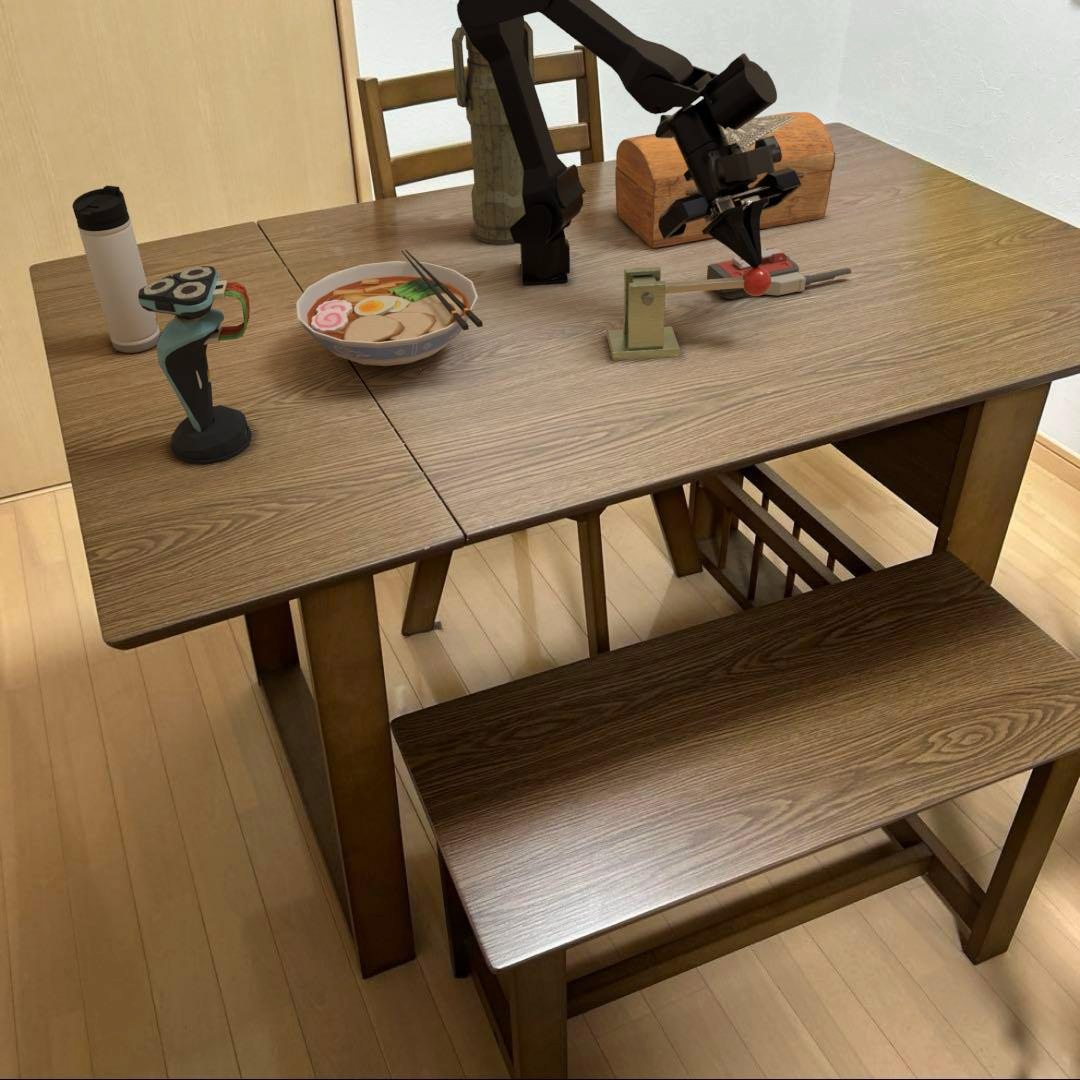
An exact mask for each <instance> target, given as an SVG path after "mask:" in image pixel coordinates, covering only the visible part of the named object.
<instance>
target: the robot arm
mask: <svg viewBox="0 0 1080 1080" xmlns="http://www.w3.org/2000/svg"><path fill="white" fill-rule="evenodd" d="M456 12H457V13H456V14H457V17H458V20H459V22H460V25H462V26H463V28H464V30H465V32H466V35H467V37H468V39H469V41H470V43H471V44H472V45H473V46H474V47H475V48H476V50H477V51H478V52H479V53H480V54H481V55H482V56H483V57H484V58H485V59H486V61H487V62H488V64H489V67H490V70H491V73H492V76H493V79H494V82H495V85H496V88H497V91H498V94H499V97H500V100H501V103H502V106H503V109H504V112H505V115H506V118H507V121H508V124H509V127H510V130H511V133H512V136H513V139H514V142H515V145H516V148H517V151H518V154H519V157H520V160H521V163H522V166H523V185H522V198H523V204H524V209H525V214H524V215H523V216H522V217H521V218H520V219H519V220H518V221H517V222H516V223H515V224H514V225H513V226H512V227H510V232H511V235H512V238H513V241H514V242H515V243H514V244H519V249H520V250H519V253H520V264H519V272H520V279H521V285H522V286H535V285H552V284H553V285H554V284H566V283H568V281H569V278H568V275H570V273H571V254H570V253H571V247H570V246H571V245H570V243H569V240H568V239H567V238H566V234H565V229H566V228H569V227H570V226H571V224H572V220H573V219H574V218H575V217H576V216H578V215H579V214H580V212H581V210H582V208H583V206H584V196H583V195H584V194H585V193H586V189H585V187H583V184H582V182H581V180H580V176H579V169H578V167H577V165H576V164H574V163H573V164H570V165H569V166H567V165H566V164H565V163H564V162H563V161H562V160H561V159H560V158H559V156H558V155H557V152H556V149H555V146H554V143H553V139H552V136H551V132H550V130H549V126H548V124H547V121H546V120H547V119H546V117H545V114H544V111H543V108H542V105H541V102H540V99H539V95H538V92H537V89H536V86H534V84H535V81H534V82H533V79H532V76H531V73H530V70H529V67H528V63H527V60H526V57H525V54H524V51H523V36H524V20H525V17H526V16H528V15H532V14H537V13H539V14H541V15H543V16H544V17H545V18H547V19H548V20H549V21H550V22H552V23H553V24H554V25H556V26H557V27H558V28H560V29H561V30H562V31H564V32H565V33H566V34H567V35H569V36H570V37H571V38H573V39H574V40H575V41H576V42H578V43H579V44H580V45H581V46H582V47H584V48H585V49H587V50H588V51H589V52H591V53H592V54H593V55H594V56H596V57H597V58H599V59H600V60H601V61H602V62H603V63H604V64H606V65H607V66H609V67H610V68H611V69H612V70H613V71H614V73H616V74H617V76H618V78H619V79H620V82H621V83H622V85H623V87H624V89H625V90H626V92H627V93H628V94H629V95H630V96H631V97H632V98H633V99H634V101H636V103H637V104H638V105H639V106H640V107H641V108H642V109H643V110H644V111H646V112H648V113H650V114H654V115H659V114H661V115H660V119H659V123H658V125H657V126H656V130H655V133H654V134H655V136H656V137H657V138H673V137H674V138H675V140H676V143H677V145H678V147H679V149H680V152H681V154H682V156H683V158H684V160H685V163H686V165H687V167H688V170H687V171H686V172H685V173H684V174H683V175H684V177H685V179H686V181H691V180H693V181H694V183H695V185H696V187H697V190H698V192H699V193H698V194H694V195H691V196H687V197H684V198H680V199H677V200H675V201H674V202H673V204H672V205H671V206H670V207H669V208H668V209H667V210H666V211H665V212H664V213H663V214H662V215H661V216H660V217H659V226H658V227H659V230H660V232H661V234H662V236H663V239H664V240H667V239H670V238H674V237H677V236H680V235H682V234H683V233H684V231H685V228H686V223H689V222H692V221H696V220H699V219H702V218H704V219H705V223H706V225H707V227H705V228H704V229H703V230H702V233H703V235H706V234H709V235H711V236H712V238H714V239H715V240H716V241H718V242H720V243H721V244H722V245H724V246H725V247H727V248H728V249H729V250H730V251H731V252H733V253H734V254H735V255H737V256H738V258H739V259H740V258H742V259H743V260H744V261H745V262H746V263H748V264H749V265H750V266H751V267H753V268H755V267H758V266H759V265H761V264H762V252H761V250H762V241H761V240H762V239H761V229H760V216H761V213H762V211H763V210H766V209H769V208H772V207H775V206H777V205H779V204H780V203H781V202H783V201H784V200H785V199H786V198H787V197H788V196H790V195H791V194H792V193H793V192H794V191H795V190H797V189H798V188H799V187H800V186H801V185H802V184H801V182H800V180H799V177H798V175H797V173H796V171H795V170H792V169H790V168H785V169H782V170H778V171H775V169H774V163H777V162H780V161H781V159H782V153H781V148H780V146H779V144H778V142H777V140H776V139H775V137H774V135H773V136H770V137H766V138H763V139H759V140H756V141H755V149H753V150H749V151H746V152H742V150H741V148H740V146H739V145H737V143H734V144H729V142H728V140H727V138H726V135H725V133H724V131H723V129H722V127H723V128H724V129H726V128H728V127H729V128H731V129H734V130H737V129H739V128H741V127H742V126H743V125H745V124H746V123H747V122H749V121H750V120H752V119H753V118H757V116H759V115H760V114H761V113H762V112H764V111H765V110H767V109H769V108H770V107H771V106H772V105H773V104H775V103H776V102H777V100H778V91H777V89H776V85H775V83H774V80H773V79H772V77H771V75H770V74H769V72H768V71H767V70H764V69H763V67H761V66H760V65H759V64H758V63H757V62H755V61H752V60H750V59H749V57H748V55H747V54H746V53H741V54H740V55H739V56H737V57H736V58H735V59H734V60H732V61H731V62H730V63H729V65H727V66H726V68H725V69H723V70H722V71H721V72H719V74H718V73H715V72H712V71H709V70H707V69H704V68H701V67H699V66H696V65H693V64H692V62H691V61H690V60H689V59H688V58H687V57H686V56H685V55H683V54H681V53H679V52H677V51H675V50H674V49H672V48H669V47H668V46H665V45H664V44H661V43H657V42H655V41H650V40H648V39H644V38H642V37H640V36H639V35H637V34H635V33H634V32H632V30H630V29H629V28H627V27H626V26H625V25H624V24H623V23H621V22H620V21H618V19H616V18H615V17H613V16H612V15H610V14H609V13H608V12H606V10H604V9H602V7H600V6H599V5H597V4H596V3H595V2H594V1H592V0H458V2H457V4H456ZM701 97H702V99H700V98H701ZM698 99H700V100H699V101H698V102H696V101H697V100H698ZM694 102H696V103H695V104H694ZM673 108H679V109H678V110H677V111H675V112H674V113H673V114H665V113H667V112H669V111H671V110H673ZM721 126H722V127H721ZM766 172H767V173H768V174H767V175H766V176H764V177H763V178H762V179H761V180H760V181H759V182H758V183H757V184H756V185H755V186H753V187H751V188H749V187H748V185H749V184H751V183H753V182H754V181H756V180H757V179H758V177H757V175H759V174H763V173H766ZM736 199H740V200H737V201H734V200H736Z"/></svg>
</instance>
